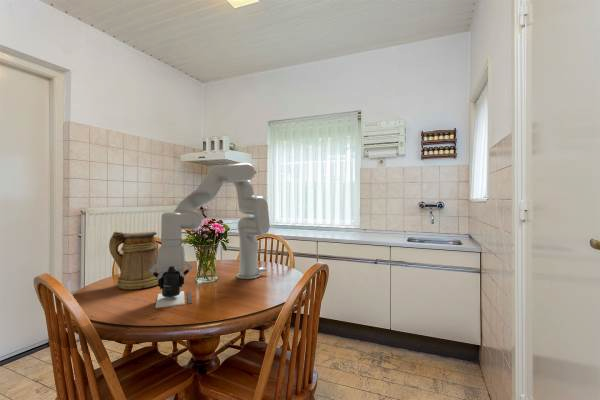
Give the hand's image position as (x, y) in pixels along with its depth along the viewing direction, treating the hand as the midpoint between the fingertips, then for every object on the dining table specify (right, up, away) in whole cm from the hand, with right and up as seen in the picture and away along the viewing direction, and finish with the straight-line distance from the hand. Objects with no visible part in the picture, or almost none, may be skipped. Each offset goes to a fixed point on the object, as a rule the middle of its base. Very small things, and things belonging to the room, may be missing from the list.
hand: (171, 286), depth 119 cm
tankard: (-25, -5, +20) cm, 33 cm away
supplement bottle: (0, -3, 0) cm, 3 cm away
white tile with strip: (+1, -5, 0) cm, 5 cm away
